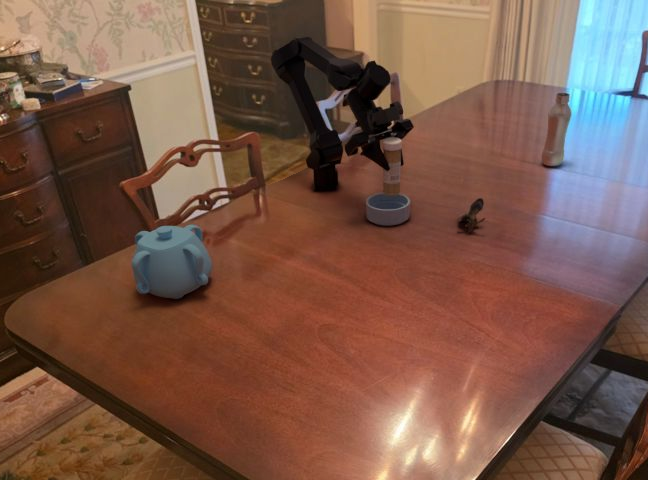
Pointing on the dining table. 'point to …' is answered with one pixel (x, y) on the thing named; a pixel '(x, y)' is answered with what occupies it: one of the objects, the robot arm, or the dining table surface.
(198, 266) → the decorative pot
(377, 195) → the bowl
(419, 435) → the dining table surface
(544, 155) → the plastic bottle
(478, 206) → the eagle figurine
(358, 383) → the dining table surface
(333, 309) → the dining table surface
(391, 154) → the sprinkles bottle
